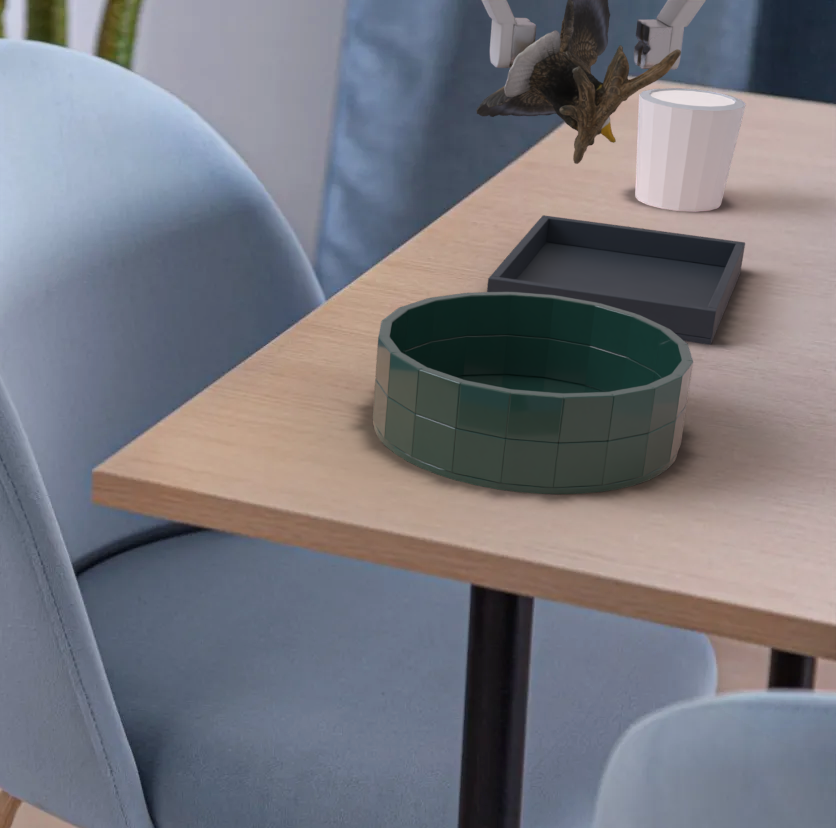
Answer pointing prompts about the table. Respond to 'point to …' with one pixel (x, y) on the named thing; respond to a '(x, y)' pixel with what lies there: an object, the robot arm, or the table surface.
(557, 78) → the eagle figurine
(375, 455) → the table surface
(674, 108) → the white cup
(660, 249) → the tray
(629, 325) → the pot
